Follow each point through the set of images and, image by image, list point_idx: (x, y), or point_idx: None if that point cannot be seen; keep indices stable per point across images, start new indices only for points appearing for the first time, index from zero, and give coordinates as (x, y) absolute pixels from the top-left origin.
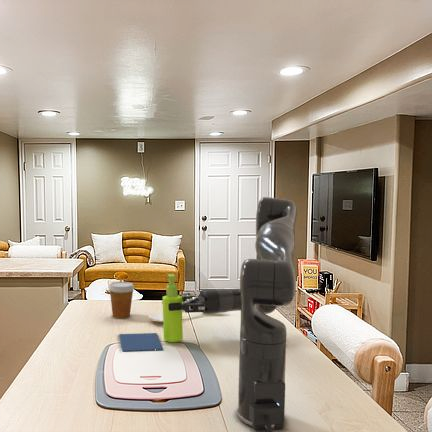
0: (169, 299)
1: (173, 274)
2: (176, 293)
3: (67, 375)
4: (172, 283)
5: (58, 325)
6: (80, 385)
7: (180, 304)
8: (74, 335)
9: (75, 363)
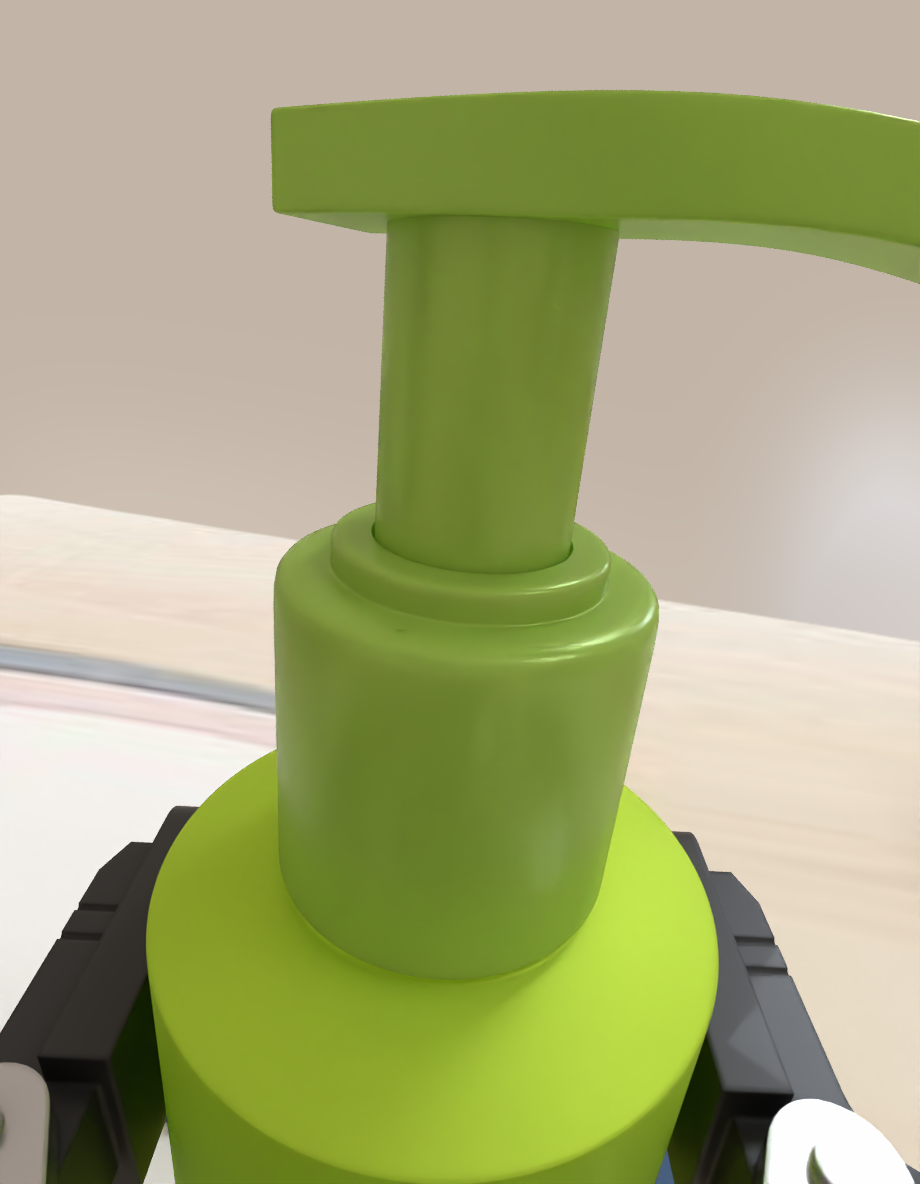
0: (255, 765)
1: (595, 100)
2: (290, 831)
3: (163, 597)
4: (383, 466)
5: (826, 628)
6: (35, 612)
7: (41, 1072)
8: (661, 657)
9: (268, 623)
